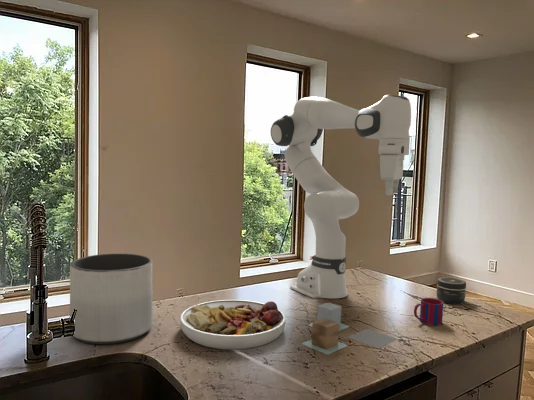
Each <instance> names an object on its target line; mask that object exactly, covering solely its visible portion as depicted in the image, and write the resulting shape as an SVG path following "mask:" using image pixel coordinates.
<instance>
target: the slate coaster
mask: <svg viewBox="0 0 534 400" xmlns="http://www.w3.org/2000/svg"><path fill="white" fill-rule="evenodd" d="M347 339H351V340H354V341H357V342H360V343H361V344H365V345H367V346H370V347H372V348H376V349H378V350H379V349H380V348H382V347H384V346H387V345H390V344H391V343H392V342H395V341H398V338H396V337H393V336H390V335H387V334H384V333H381V332H379V331H375V330H372V329H369V328H366V329H364V330H361V331H359V332H356V333H354V334H351V335H349V336H348V337H347Z"/></svg>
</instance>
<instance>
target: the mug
mask: <svg viewBox="0 0 534 400" xmlns="http://www.w3.org/2000/svg"><path fill="white" fill-rule="evenodd" d="M419 307H420V310H419V316H418V313H417V312H418V308H419ZM443 312H444V302H443V301H441V300H438V298H433V297H424V298H421V299H420V303H417V304H415V306H414V309H413V315H414V317H415V319H417V320H419V322H420V321H421V322H420V323H421V324H423V325H429V326H433V327H434V326H435V327H437V326H441V325H443V317H444V315H443V314H444V313H443Z"/></svg>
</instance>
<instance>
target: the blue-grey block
mask: <svg viewBox="0 0 534 400" xmlns="http://www.w3.org/2000/svg"><path fill="white" fill-rule="evenodd" d="M316 317H317V318H316V319H317V320H320V319H323V318H325V319H328V320H331V321H334V322H337V323H339V326H341V323H342V306H341V305H338V304H335V303H331V302H325V303H322V304H319V305H317V313H316ZM317 320H316V321H317Z"/></svg>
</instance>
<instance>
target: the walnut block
mask: <svg viewBox="0 0 534 400" xmlns="http://www.w3.org/2000/svg"><path fill="white" fill-rule="evenodd" d="M338 330H339V323H337V322H334V321H331V320H328V319H325V318H323V319H320V320H315V321H312V326H311V339H312V344H313V345H315V346H318V347H320V348H323V349H325V350H327V349H329V348H332V347H334V346H336V345H338V342H339V331H338Z"/></svg>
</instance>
